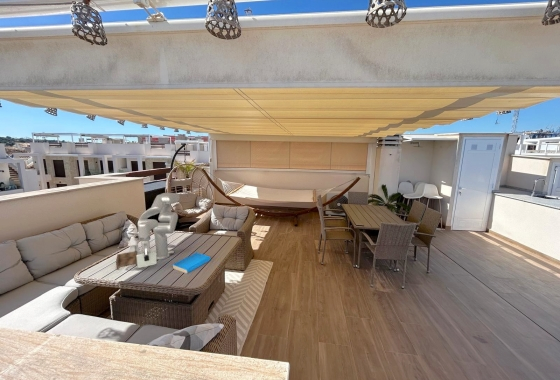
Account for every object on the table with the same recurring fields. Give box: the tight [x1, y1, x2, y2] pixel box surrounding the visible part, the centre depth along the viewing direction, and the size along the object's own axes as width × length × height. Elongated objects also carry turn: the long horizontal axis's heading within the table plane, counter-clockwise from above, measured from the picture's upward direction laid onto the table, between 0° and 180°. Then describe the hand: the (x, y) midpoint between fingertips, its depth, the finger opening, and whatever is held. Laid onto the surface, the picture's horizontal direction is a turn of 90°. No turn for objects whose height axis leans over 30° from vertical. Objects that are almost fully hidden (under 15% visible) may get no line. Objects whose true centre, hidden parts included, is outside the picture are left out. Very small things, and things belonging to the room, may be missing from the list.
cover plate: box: [136, 250, 157, 269], centre depth 177 cm, size 13×2×10 cm, turn 122°
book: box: [172, 251, 211, 274], centre depth 189 cm, size 17×4×25 cm
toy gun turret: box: [125, 234, 143, 255], centre depth 202 cm, size 12×13×18 cm
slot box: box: [115, 251, 137, 271], centre depth 187 cm, size 14×15×7 cm
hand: (146, 259), depth 177 cm, fingers closed on cover plate, 2 cm apart
